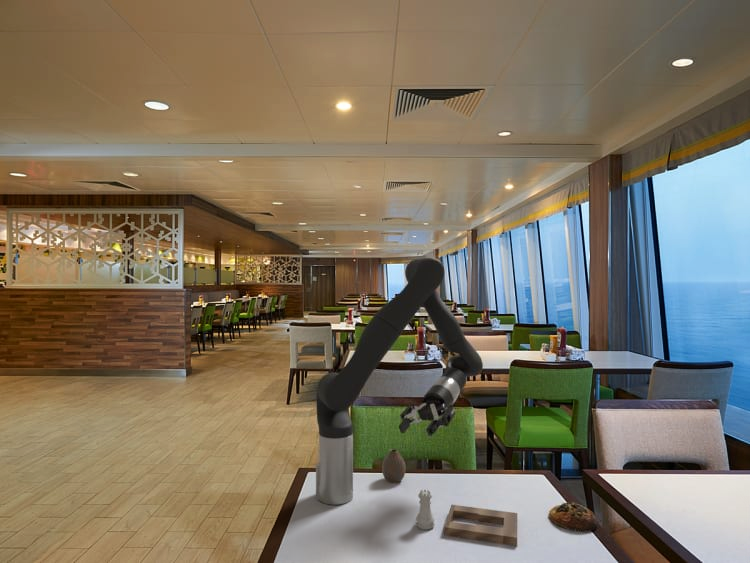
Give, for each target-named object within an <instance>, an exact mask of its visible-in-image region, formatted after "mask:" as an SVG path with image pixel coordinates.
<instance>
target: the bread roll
mask: <svg viewBox="0 0 750 563" xmlns="http://www.w3.org/2000/svg"><path fill="white" fill-rule="evenodd" d="M547 515H548V517H549V519H550V520H551V521H552V522H553V523H554V524H555V525H557V527H560V528H564V529H566V530H571V531H575V532H581V533H582V532H592V531H594V530H595V529H596V528H597V527H598V526H597V525H598V520H597V517H596V515H595V514H594V512H593V511H591V510H590V509H589V508H587V507H585V506H583V505H581V504H580V503H576V502H563V503H561V504H558V505H555V506H554V507H552V508H550V510H549V512H548V514H547ZM595 527H596V528H595Z"/></svg>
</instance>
